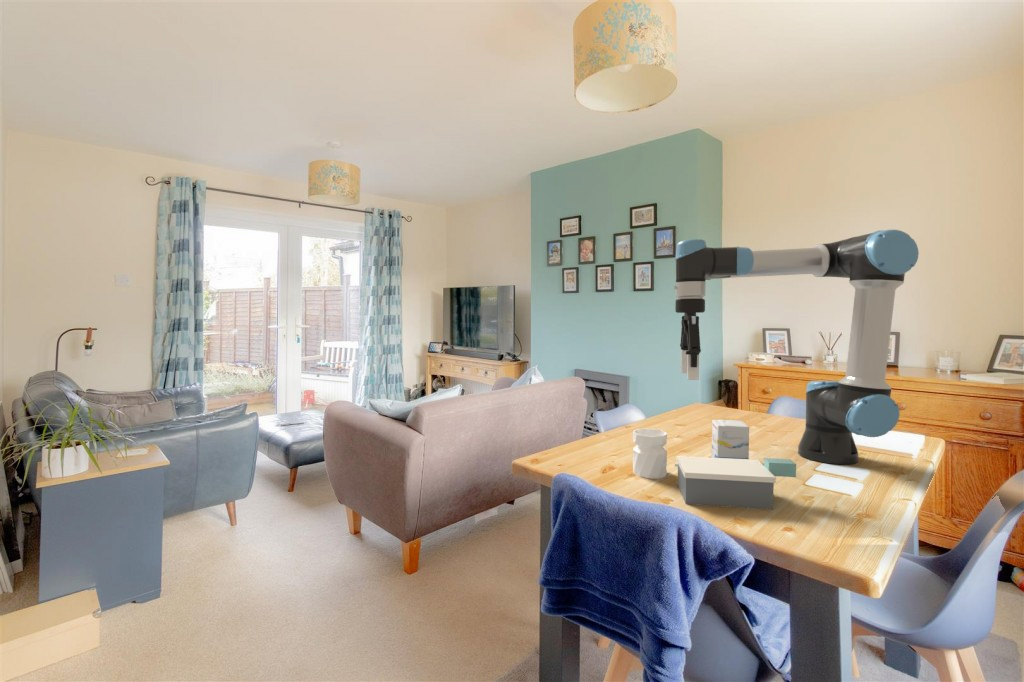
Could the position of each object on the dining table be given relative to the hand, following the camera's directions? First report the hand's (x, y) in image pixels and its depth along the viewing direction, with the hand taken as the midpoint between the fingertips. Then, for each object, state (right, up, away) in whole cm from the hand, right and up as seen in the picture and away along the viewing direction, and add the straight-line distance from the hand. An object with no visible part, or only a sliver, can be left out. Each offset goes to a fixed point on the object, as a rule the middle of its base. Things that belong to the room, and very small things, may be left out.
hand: (689, 376), depth 131 cm
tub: (0, -27, -19) cm, 34 cm away
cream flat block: (+3, -21, -20) cm, 30 cm away
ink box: (+15, -26, +9) cm, 31 cm away
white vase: (-12, -27, -3) cm, 29 cm away
